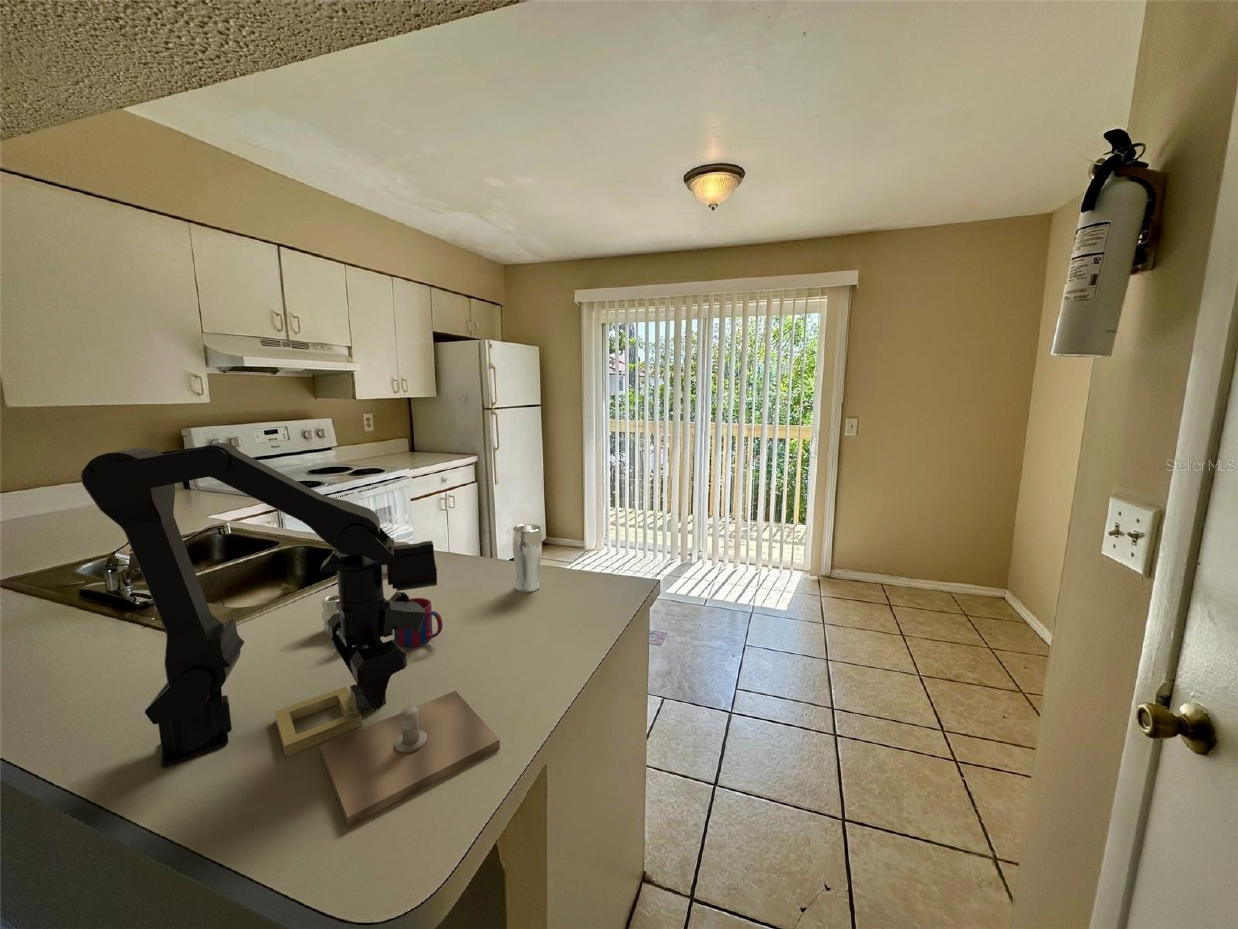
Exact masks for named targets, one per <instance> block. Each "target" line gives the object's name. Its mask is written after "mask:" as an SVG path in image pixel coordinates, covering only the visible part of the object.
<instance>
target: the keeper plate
mask: <svg viewBox="0 0 1238 929" xmlns="http://www.w3.org/2000/svg"><path fill="white" fill-rule="evenodd" d="M500 748H501V740H500V738H499V737H498V736H497V735H496V734H495V733H494V731H493V730H492V729H491V728H490V727H489V726H488V725H487V723H486V722H485V721H484V720H482V718H481V717H480V716H479V715H478V714H477V713H476V712H475V710H474V709H473V708H472V707H471V706H470V705H469V703H467V701H466V700H465V699H464V698H463V697H462V696H461V695H460V694H459V693H458V691H456V690H454V691H451V692H449V693H447V694H443V695H442V696H441V695H440V696H439V697H437V698H434V699H431V700H429V701H427V702H425V703H421V704H420V705H417V706H414V705H413V706H408V707H405V708H404V709H402V710H401V712H400V713H397V714H395V715H393V716H390V717H388V718H386V719H383V720H380V721H378V722H376V723H373V724H371V725H368V726H366V727H364V728H360V729H359V730H356V731H354V732H351V733H348V734H346V735H343V736H341V737H339V738H337V739H334V740H332V741H329V742H327V743H324V744H322V745H320V755H321V758H322V760H323V763H324V766H325V769H326V771H327V774H328V776H329V779H330V782H331V786H332V788H333V790H334V792H335V795H336V798H337V801H338V803H339V806H340V809H341V811H342V813H343V817H344V819H345V823H346V825H347V827H348V828H349V827H351V826H354V825H355V824H357V823H358V824H359V822H361V821H363V820H365V819H366V818H369V817H371V816H373V815H375V814H376V813H379V812H380V811H382V810H384V809H385V808H388V807H390V806H391V804H392V805H393V803H394V802H396V803H397V801H398V802H399V801H401V800H403V799H406V798H407V797H409V796H411V795H412V794H415V793H416V791H417V792H418V791H420V790H422V789H424V788H426V787H428V786H430V785H432V784H434V783H436V782H437V781H438V782H439V780H441V779H443V778H445V777H448V776H449V775H451V774H453V773H454V772H457V771H458V770H461V769H462V768H465V767H466V766H468V765H470V764H472V763H473V762H476V761H477V760H479V759H481V758H484V757H485V756H487V755H489V754H491V753H492V752H495V751H497V750H498V749H500ZM394 804H395V803H394ZM389 805H390V806H389ZM387 806H388V807H387ZM383 808H384V809H383ZM381 809H382V810H381ZM374 813H375V814H374Z"/></svg>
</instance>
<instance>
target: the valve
mask: <svg viewBox="0 0 1238 929" xmlns="http://www.w3.org/2000/svg"><path fill="white" fill-rule="evenodd" d="M336 601H339V594H331V595H328V596H326V597H324V598H323V599H322V600H321V605H322V609H323V610H322V613H321V619H322V621H323V631H324V632H325V633H326V634H328V635H329V633H328V625H327V621H328V620H329V619H330V618H331V617H332V615H333V614H337V613H340V612H339V611H338V610H337V608H336Z"/></svg>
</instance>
